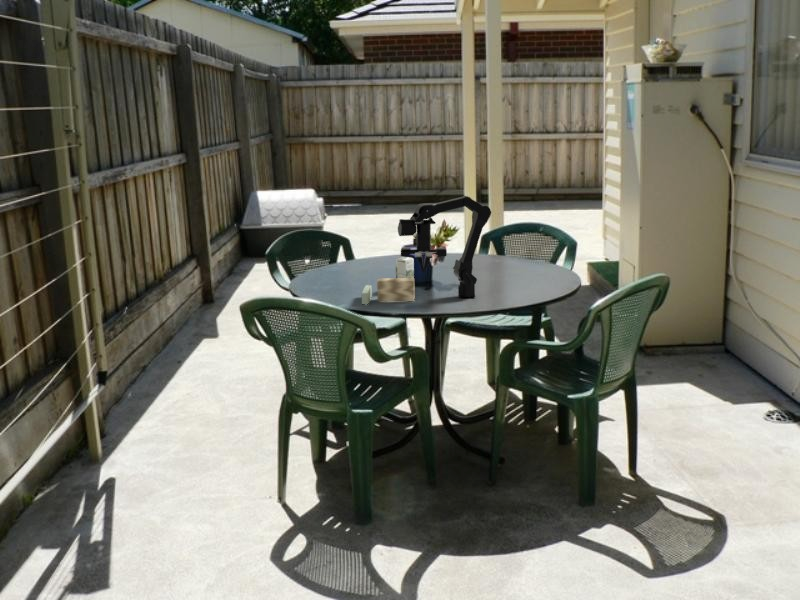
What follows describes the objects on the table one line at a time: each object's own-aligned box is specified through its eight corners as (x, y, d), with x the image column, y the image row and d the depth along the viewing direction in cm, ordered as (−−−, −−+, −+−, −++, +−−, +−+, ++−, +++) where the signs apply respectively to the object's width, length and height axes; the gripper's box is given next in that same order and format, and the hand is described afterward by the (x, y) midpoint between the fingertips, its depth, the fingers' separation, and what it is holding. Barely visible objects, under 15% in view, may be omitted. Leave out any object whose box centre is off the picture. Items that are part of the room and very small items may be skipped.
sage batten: (372, 296, 370) (371, 285, 369) (368, 305, 354) (367, 293, 353) (366, 296, 370) (365, 285, 369) (362, 305, 355) (361, 293, 353)
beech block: (414, 299, 364) (414, 278, 362) (414, 302, 358) (413, 281, 356) (379, 299, 365) (378, 278, 363) (377, 302, 359) (377, 281, 357)
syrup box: (404, 288, 384) (403, 256, 380) (414, 290, 380) (413, 257, 377) (395, 291, 379) (395, 258, 376) (406, 292, 376) (405, 259, 372)
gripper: (445, 231, 362) (445, 268, 366) (401, 231, 362) (401, 268, 366) (446, 236, 351) (446, 273, 355) (400, 236, 351) (400, 274, 355)
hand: (423, 272), depth 358 cm, fingers closed
